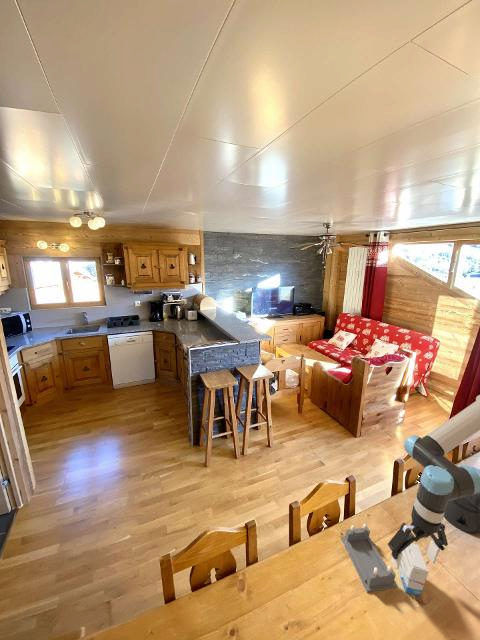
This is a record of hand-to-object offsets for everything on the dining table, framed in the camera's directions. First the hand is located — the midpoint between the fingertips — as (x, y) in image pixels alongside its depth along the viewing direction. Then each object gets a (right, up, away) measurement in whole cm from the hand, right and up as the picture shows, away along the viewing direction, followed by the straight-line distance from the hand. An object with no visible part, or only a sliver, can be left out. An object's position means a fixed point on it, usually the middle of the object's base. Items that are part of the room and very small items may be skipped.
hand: (412, 561), depth 89 cm
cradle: (-12, -7, +7) cm, 16 cm away
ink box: (0, -9, +2) cm, 9 cm away
